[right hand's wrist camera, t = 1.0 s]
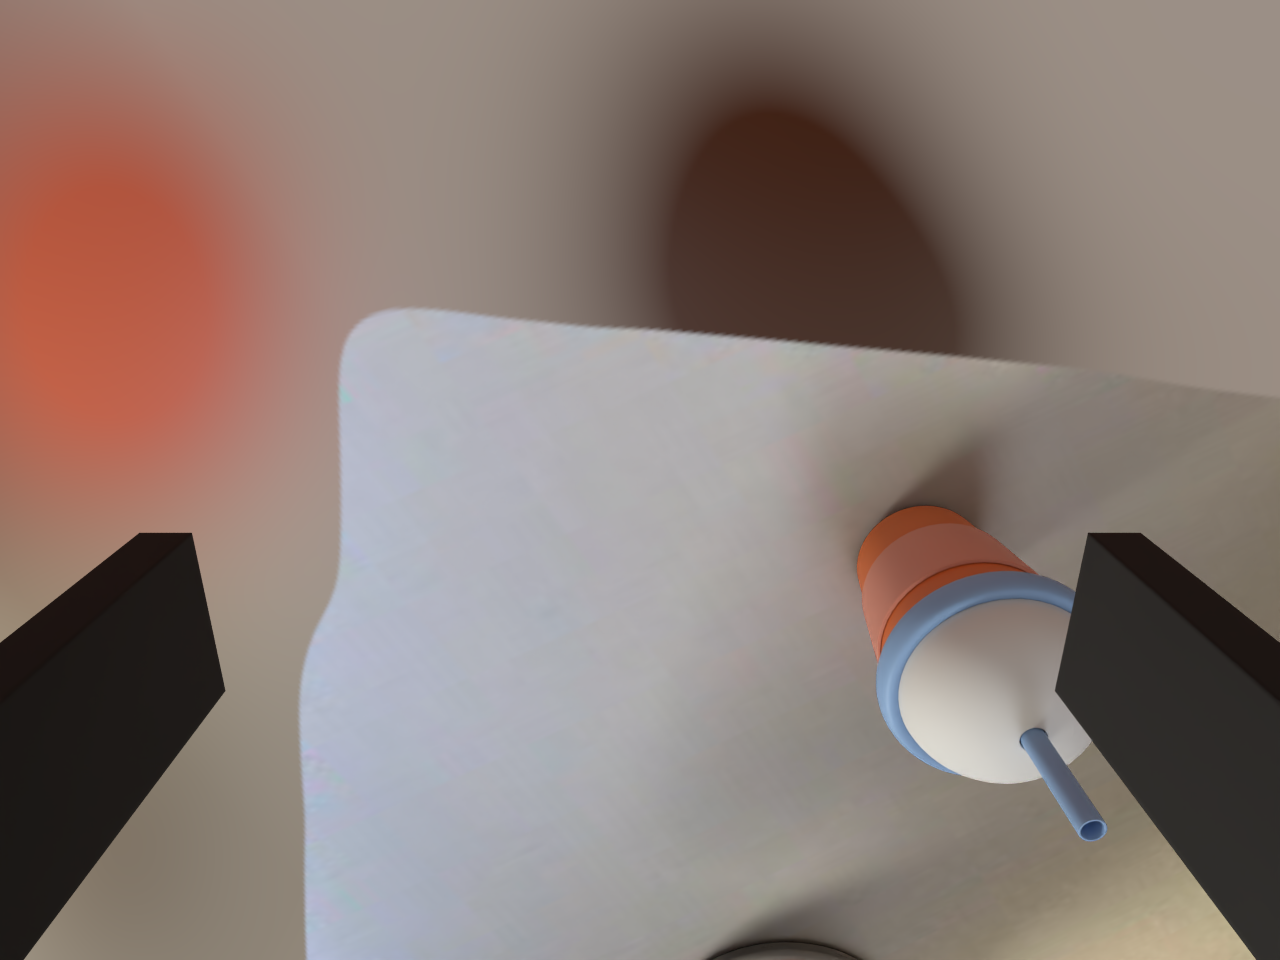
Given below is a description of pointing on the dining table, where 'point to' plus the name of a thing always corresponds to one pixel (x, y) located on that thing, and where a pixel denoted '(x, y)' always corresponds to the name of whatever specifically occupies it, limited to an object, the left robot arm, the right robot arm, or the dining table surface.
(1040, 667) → the cup with straw
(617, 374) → the dining table surface
